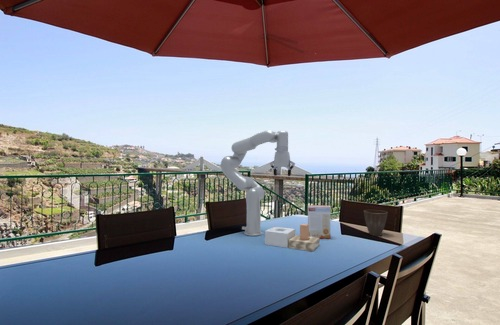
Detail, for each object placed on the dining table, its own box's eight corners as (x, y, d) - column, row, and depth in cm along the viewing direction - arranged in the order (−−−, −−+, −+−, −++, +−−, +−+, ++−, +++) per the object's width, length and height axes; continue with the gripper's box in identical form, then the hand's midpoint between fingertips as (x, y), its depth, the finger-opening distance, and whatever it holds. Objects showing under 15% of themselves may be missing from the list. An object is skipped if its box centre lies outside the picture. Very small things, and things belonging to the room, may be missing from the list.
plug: (299, 245, 168) (300, 224, 168) (302, 243, 172) (302, 223, 172) (306, 246, 166) (306, 225, 166) (308, 244, 170) (308, 224, 170)
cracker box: (329, 236, 192) (329, 205, 192) (330, 239, 186) (330, 206, 186) (307, 236, 194) (307, 204, 194) (308, 238, 188) (308, 206, 188)
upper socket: (265, 244, 173) (265, 230, 173) (274, 239, 185) (274, 226, 185) (287, 247, 166) (287, 233, 166) (295, 242, 179) (295, 229, 179)
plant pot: (388, 234, 201) (388, 210, 201) (385, 238, 189) (385, 213, 189) (366, 231, 209) (366, 209, 209) (361, 235, 197) (361, 211, 197)
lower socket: (288, 247, 166) (288, 240, 166) (296, 242, 178) (296, 234, 178) (312, 251, 159) (313, 243, 159) (319, 245, 172) (319, 237, 172)
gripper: (268, 149, 192) (267, 175, 192) (292, 149, 184) (292, 176, 184) (272, 150, 199) (272, 175, 199) (296, 149, 191) (296, 175, 191)
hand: (282, 175), depth 192 cm, fingers open, 9 cm apart
